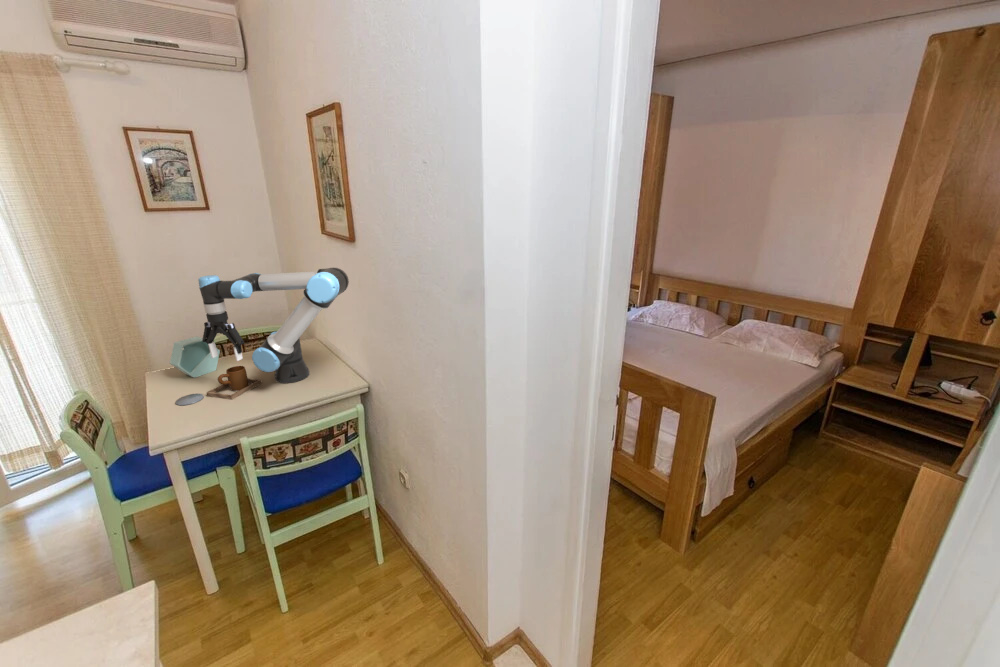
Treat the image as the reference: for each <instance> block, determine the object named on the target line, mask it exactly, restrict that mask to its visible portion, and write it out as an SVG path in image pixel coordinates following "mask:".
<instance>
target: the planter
mask: <svg viewBox="0 0 1000 667" xmlns="http://www.w3.org/2000/svg"><path fill="white" fill-rule="evenodd" d="M216 349H217V353H218V356H217V357H214V358H212V357H211V353H210V350H209V348H208V344H207V343H206V342H203V337H200V336H197V335H196V336H193V337H192V336H191V337H190V338H189V337H188V338H186V339H182V340H179V341H174V342H173V346H172V350H171V351H172V352H171V356H170V361H169V364H170V365H171V366H173V367H174V368H176V369H177V370H179V371H180V372H182V374H185V375H187V376H188V377H190V378H198V377H200V376H203V375H207V374H210V373H213V372H215V371H217V368H218V363H219V358H220V353H221V350H220V349H219V348H217V347H216Z"/></svg>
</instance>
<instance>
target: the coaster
mask: <svg viewBox="0 0 1000 667" xmlns="http://www.w3.org/2000/svg"><path fill="white" fill-rule="evenodd" d="M203 399H204V394H202V393H190V394H187V395H184V396H183V395H182V396H181V397H179V398H178V399H176V401H175V405H177V406H181V407H183V406H190V405H193V404H196V403H199V402H201V401H202V400H203Z"/></svg>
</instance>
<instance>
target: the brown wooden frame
mask: <svg viewBox="0 0 1000 667" xmlns="http://www.w3.org/2000/svg"><path fill="white" fill-rule="evenodd" d="M248 382H249V386H247V387H245V388H243V389H241V390H239V391H235V392H234V393H232V394H229V393H228V394H227V393H222V392H221V393H220V391H222V390H224V389H226V388H229V387H230V386H229V384H226V385H222V384H220V385H218V386H216V387H214V388H213V389H210V390H208V391H206V392H205V393H206V397H208V398H209V397H211V398H218V399H224V400H225V399H226V400H235V399H236V398H238V397H239V396H241V395H243V394H245V393H247V392H248V391H250V390H252V389H254V388H255V387H258V386H259V385H261V384H262V379H257V378H250V377H248Z"/></svg>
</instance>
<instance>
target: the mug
mask: <svg viewBox="0 0 1000 667" xmlns="http://www.w3.org/2000/svg"><path fill="white" fill-rule="evenodd" d="M223 378H227V380H223ZM248 378H249V377H248V374H247V369H246V367H245V366H244V365H236V366H232V367H229V368H227V369H226V372H225V373H222V374H220V375H219V376H218V377H217V382H218V383H219V384H220V385H226V384H229V386H228V387H229V389H230V390H231V391H233V392H237V391H239V390H241V389H243V388H245V387H247V386H249V385H250V383H249V382H248Z"/></svg>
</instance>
